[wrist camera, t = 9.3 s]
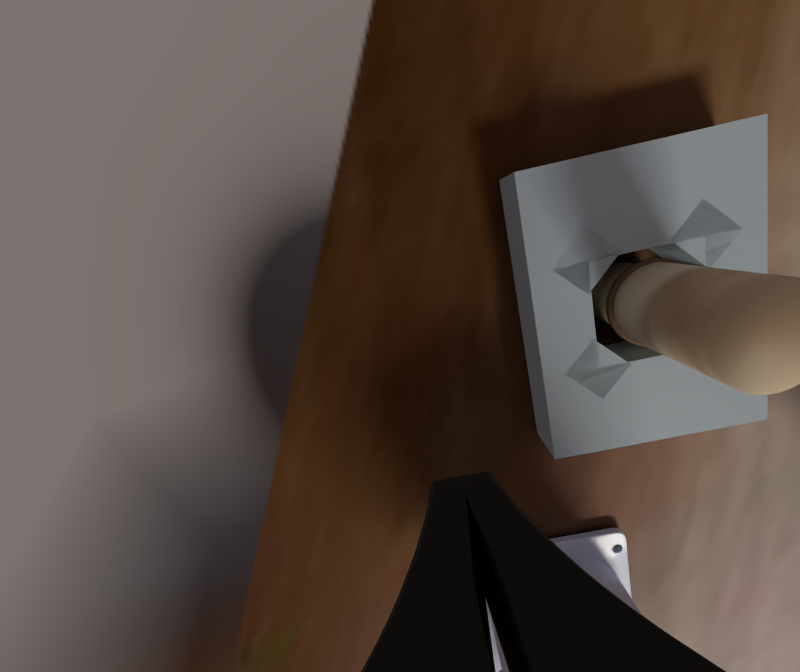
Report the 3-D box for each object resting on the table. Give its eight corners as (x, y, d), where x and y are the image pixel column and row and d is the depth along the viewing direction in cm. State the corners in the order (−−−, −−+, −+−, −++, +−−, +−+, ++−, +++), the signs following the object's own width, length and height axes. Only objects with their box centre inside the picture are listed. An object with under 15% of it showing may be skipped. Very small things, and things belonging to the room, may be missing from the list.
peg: (658, 322, 19) (838, 385, 11) (583, 336, 19) (709, 409, 11) (654, 248, 18) (844, 259, 10) (576, 263, 18) (706, 287, 10)
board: (724, 397, 20) (767, 419, 17) (537, 433, 20) (554, 459, 18) (716, 130, 17) (767, 113, 14) (499, 180, 17) (514, 172, 15)
